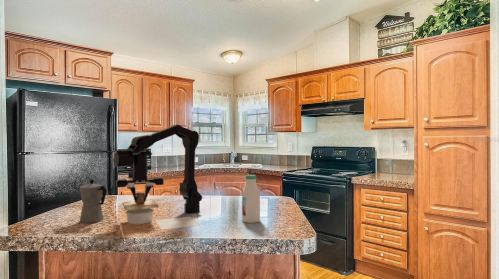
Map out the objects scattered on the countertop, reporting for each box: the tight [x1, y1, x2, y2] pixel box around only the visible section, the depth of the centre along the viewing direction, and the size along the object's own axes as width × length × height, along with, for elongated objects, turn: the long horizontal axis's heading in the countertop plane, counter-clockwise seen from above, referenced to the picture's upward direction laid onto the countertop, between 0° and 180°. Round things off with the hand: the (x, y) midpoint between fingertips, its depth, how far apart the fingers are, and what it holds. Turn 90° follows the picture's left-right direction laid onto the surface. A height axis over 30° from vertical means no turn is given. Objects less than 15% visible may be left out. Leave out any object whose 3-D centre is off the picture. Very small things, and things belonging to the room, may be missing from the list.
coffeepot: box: [79, 179, 108, 224], centre depth 136 cm, size 15×9×18 cm, turn 65°
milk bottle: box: [241, 174, 261, 224], centre depth 135 cm, size 8×8×20 cm
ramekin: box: [125, 208, 154, 225], centre depth 132 cm, size 11×11×5 cm
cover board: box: [122, 191, 159, 211], centre depth 132 cm, size 13×13×6 cm
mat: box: [154, 216, 202, 230], centre depth 130 cm, size 16×16×1 cm
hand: (140, 202), depth 133 cm, fingers closed on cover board, 3 cm apart
